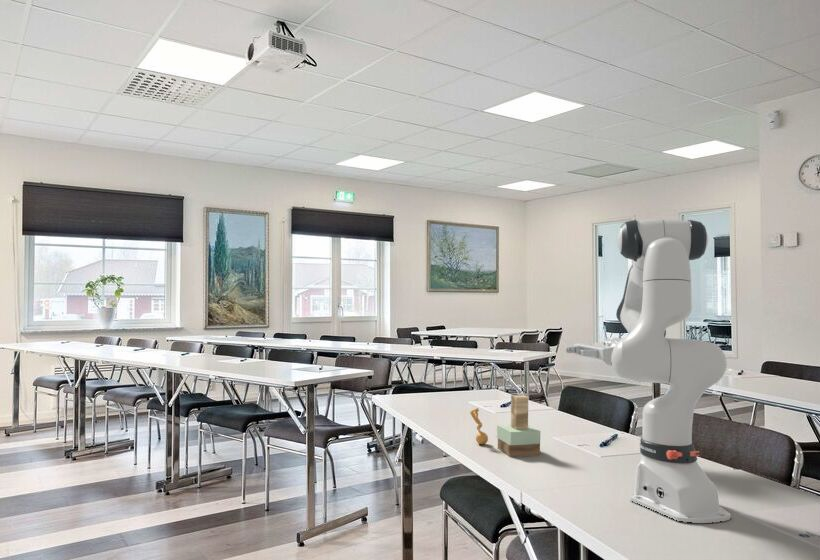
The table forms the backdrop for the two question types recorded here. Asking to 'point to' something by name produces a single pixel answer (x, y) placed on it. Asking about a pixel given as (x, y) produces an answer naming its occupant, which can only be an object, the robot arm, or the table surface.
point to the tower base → (519, 449)
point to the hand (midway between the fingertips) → (573, 351)
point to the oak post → (519, 412)
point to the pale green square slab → (518, 435)
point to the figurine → (481, 436)
